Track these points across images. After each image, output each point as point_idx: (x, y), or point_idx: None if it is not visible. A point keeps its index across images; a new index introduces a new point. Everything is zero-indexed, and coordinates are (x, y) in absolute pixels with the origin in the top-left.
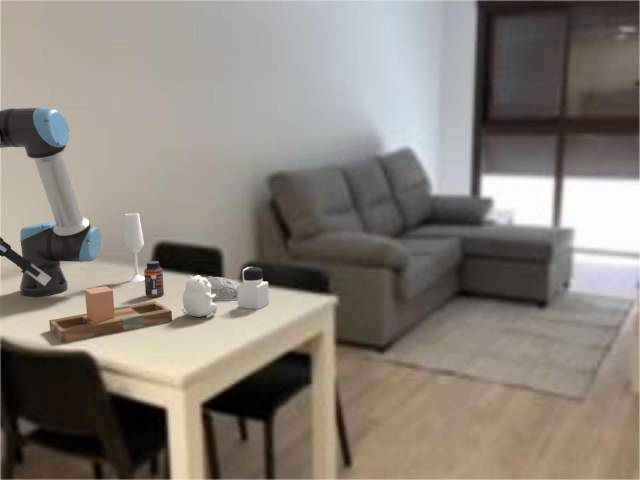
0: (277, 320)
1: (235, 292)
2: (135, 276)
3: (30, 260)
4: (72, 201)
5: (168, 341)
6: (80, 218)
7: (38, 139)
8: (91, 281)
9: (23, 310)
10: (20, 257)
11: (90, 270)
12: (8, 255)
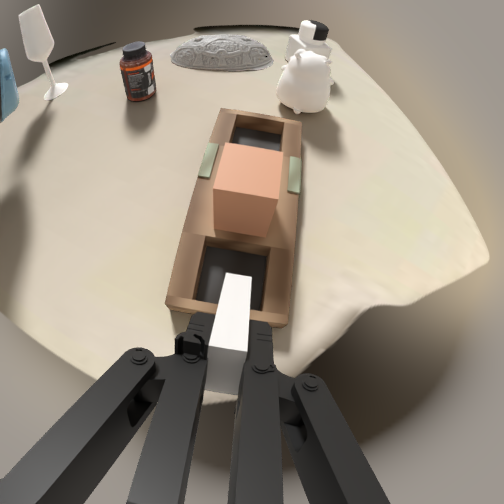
0: (375, 89)
1: (265, 51)
2: (55, 88)
3: (204, 341)
4: None
5: (391, 193)
6: None
7: None
8: (3, 135)
9: (8, 277)
10: (354, 452)
11: None
12: None
